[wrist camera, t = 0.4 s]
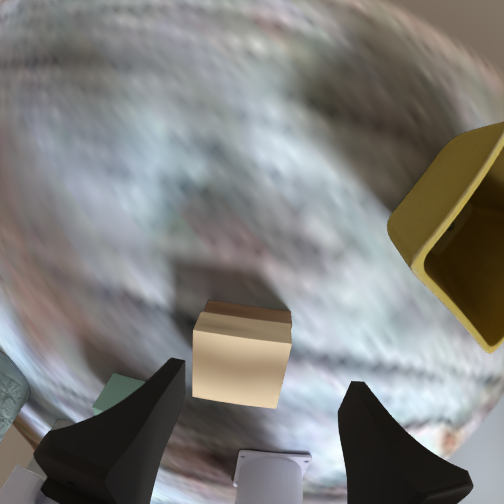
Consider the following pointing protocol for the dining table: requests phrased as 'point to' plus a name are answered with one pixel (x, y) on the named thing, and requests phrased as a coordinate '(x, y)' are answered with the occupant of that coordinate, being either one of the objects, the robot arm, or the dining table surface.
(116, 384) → the teal block
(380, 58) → the dining table surface
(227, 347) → the oak slab
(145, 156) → the dining table surface
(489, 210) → the flower pot
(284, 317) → the walnut slab
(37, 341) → the dining table surface
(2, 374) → the grey-green embossed container
